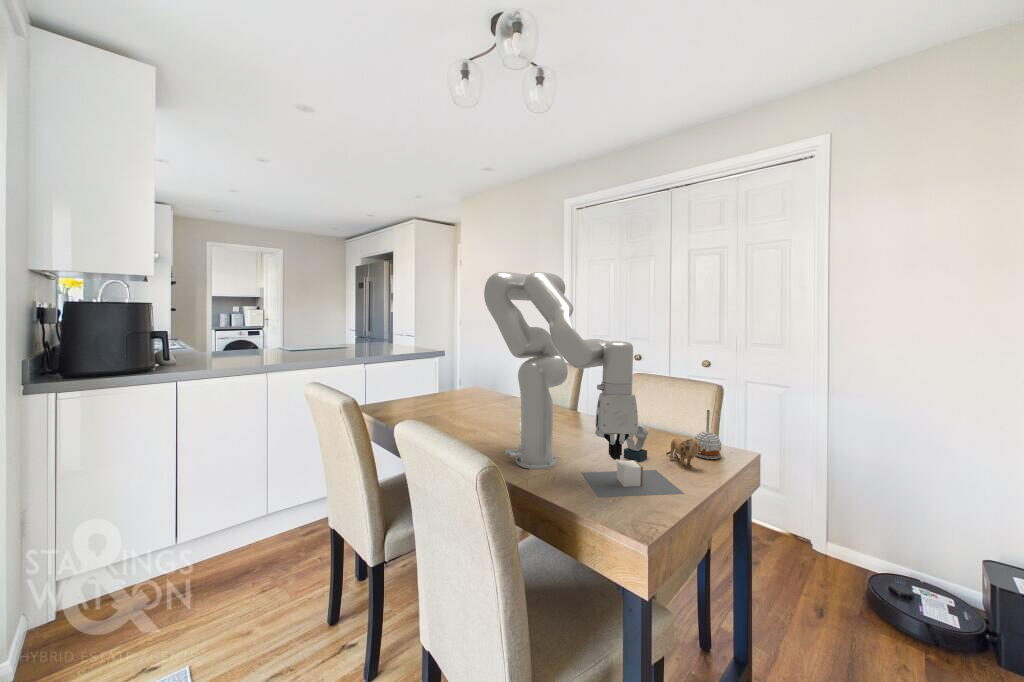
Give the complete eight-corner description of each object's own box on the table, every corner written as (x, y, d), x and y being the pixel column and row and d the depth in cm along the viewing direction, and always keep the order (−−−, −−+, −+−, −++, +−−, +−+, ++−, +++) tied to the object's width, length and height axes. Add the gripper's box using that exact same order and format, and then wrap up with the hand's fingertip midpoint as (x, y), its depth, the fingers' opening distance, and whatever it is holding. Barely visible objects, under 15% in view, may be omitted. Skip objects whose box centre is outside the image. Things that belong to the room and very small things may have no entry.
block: (624, 467, 107) (643, 467, 108) (617, 460, 112) (635, 460, 112) (623, 486, 107) (642, 485, 108) (617, 479, 112) (634, 478, 113)
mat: (598, 498, 101) (598, 497, 101) (580, 473, 117) (580, 472, 117) (684, 495, 103) (684, 493, 103) (655, 471, 119) (655, 469, 119)
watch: (650, 458, 130) (650, 424, 129) (636, 465, 124) (637, 428, 123) (633, 454, 134) (634, 420, 133) (620, 460, 128) (621, 425, 127)
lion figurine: (705, 471, 120) (706, 440, 119) (689, 473, 118) (690, 441, 118) (673, 454, 134) (673, 427, 133) (658, 456, 132) (659, 428, 132)
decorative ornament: (710, 452, 137) (712, 406, 136) (725, 460, 129) (727, 412, 128) (688, 452, 136) (690, 407, 135) (702, 461, 128) (703, 412, 127)
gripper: (593, 391, 104) (591, 464, 105) (650, 391, 105) (648, 462, 106) (584, 386, 111) (583, 454, 112) (638, 386, 113) (636, 452, 114)
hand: (615, 457), depth 109 cm, fingers closed
